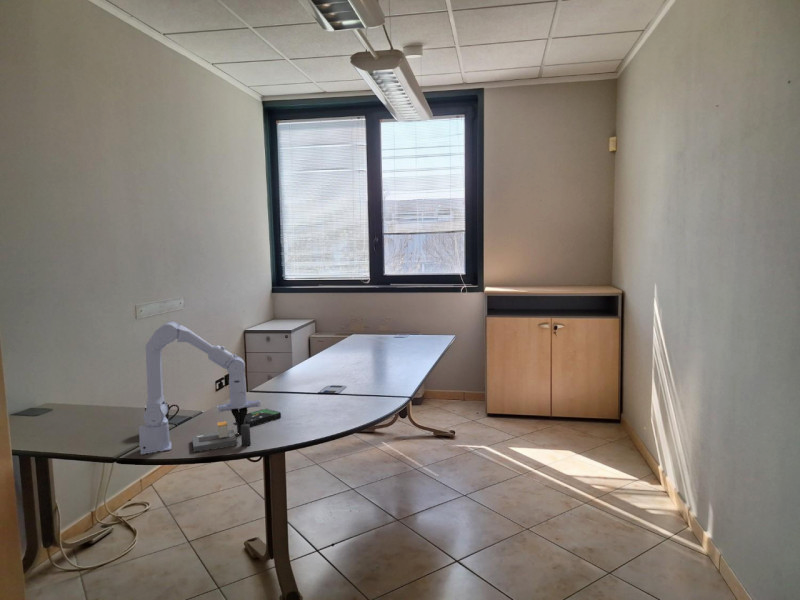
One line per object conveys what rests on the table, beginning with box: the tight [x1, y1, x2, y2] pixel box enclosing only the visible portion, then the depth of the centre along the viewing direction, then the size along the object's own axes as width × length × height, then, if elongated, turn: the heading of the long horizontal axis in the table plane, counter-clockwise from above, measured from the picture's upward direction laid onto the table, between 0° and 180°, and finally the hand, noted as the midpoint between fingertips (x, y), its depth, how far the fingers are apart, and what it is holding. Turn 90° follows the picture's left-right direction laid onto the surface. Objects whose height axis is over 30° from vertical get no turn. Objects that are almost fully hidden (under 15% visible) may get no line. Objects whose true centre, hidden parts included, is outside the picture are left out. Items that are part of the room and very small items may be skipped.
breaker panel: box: [191, 429, 238, 452], centre depth 189 cm, size 14×12×2 cm
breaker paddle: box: [216, 421, 228, 438], centre depth 190 cm, size 3×4×4 cm
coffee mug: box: [144, 401, 180, 423], centre depth 205 cm, size 12×9×10 cm
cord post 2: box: [240, 424, 252, 447], centre depth 186 cm, size 3×3×7 cm
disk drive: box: [234, 408, 282, 428], centre depth 214 cm, size 10×3×15 cm
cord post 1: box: [236, 419, 245, 435], centre depth 199 cm, size 3×3×7 cm
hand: (240, 428), depth 192 cm, fingers closed
